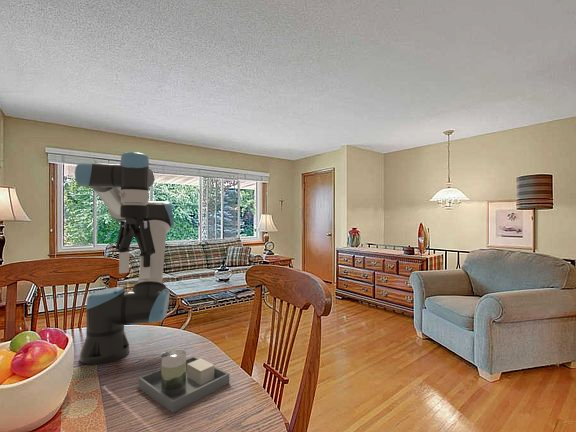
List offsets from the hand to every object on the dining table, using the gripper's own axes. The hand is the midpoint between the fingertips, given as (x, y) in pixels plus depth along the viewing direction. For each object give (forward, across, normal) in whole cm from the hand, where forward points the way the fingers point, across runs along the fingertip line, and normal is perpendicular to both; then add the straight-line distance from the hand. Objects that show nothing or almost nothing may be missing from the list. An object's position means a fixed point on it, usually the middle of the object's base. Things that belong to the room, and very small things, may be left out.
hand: (134, 275), depth 92 cm
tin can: (+31, +15, +4) cm, 35 cm away
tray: (+32, +15, +8) cm, 36 cm away
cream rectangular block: (+31, +15, +13) cm, 37 cm away
